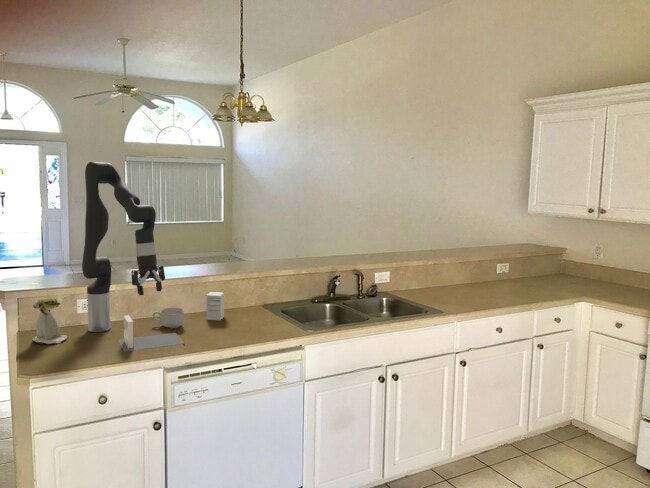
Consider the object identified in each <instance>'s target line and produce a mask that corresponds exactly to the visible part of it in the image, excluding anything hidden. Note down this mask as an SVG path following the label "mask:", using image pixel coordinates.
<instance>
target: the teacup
mask: <svg viewBox="0 0 650 488" xmlns="http://www.w3.org/2000/svg"><path fill="white" fill-rule="evenodd" d="M184 313H185V309H183V308H181V307H174V306H173V307H172V306H170V307H165V308H162V309H161V310H160V311H159V310H155V311H153V313H152V318H153V319H154V320H155V321H157V322H158V323H159V324H161V325H162V326H163V327H164V328H168V329H170V330H171V329H173V328H174V329H177V328H179V327H180V326H182V324H183V323H184V320H185V319H184V317H185V316H184V315H185V314H184ZM156 314H158V316H159V317H160V318H159V317H158V318H157V316H156Z"/></svg>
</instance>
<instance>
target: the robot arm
mask: <svg viewBox="0 0 650 488" xmlns="http://www.w3.org/2000/svg"><path fill="white" fill-rule="evenodd" d="M84 170H85V171H84V181H85V194H86V197H85V224H84V225H85V227H84V231H85V232H84V248H83V254H82V255H83V256H82V263H81V269H82V270H81V271H82V275H83V276H84V278H86V279H89V280H91V279H95V281H93V282H92V283H91V284H90V285H88V286H87V288H86V295H87V296H86V297H87V298H86V299H87V300H86V301H87V327H88V328H87V330H88V332H90V333H103V332H107V331H110V329H111V301H110V298H111V295H110V288H111V285H112V264H111V261H110V259H109V258H108V257H107V256H103V255H100V256H97V253H98V248H99V246H100V244H101V242H102V241H103V239H104V238H105V236H106V234H107V232H108V230H109V221H110V219H109V217H110V216H109V212H108V209H107V207H106V206H105V204H104V202H103V201H102V199H101V196H100V192H99V184H103V185H105V184H108V185H109V186H112V188H113V195H114V198H115V200H116V201H117V202H118V203H119V204H120V206H121V207H123V208H124V211H125V213H126V215H127V217H128V220H129V221H130V222H132V223H136V224H141V223H143V224H142V227H140V228H138V229H136V230H135V231H134V236H135V254H136V262H137V267H138V269H135V270H133V269H132V270H131V271H130V272H131V285H132V286H136V288H137V289H136V290H137V294H138V296H144V295H145V293H144V286H143V284H144V283H145V281H146V280H149V279H153V280H154V281H155V286H156V287H155V288H156V292H162V289H163V286H162V282H163V281H165V280H166V275H165V269H164V266H163V265H158V266H157V264H158V261H157V259H158V258H157V251H156V250H157V249H156V244H155V239H154V238H155V236H154V229H155V225H156V224H155V223H156V218H157V212H156V209H155V208H154V206H153V205H150V204H141V199H140V198H139V197H138V196H137V195H136V194H135V193H134V192H133V191H132V190H131V188H130V187H128V185H127V184H126V183H125V181H124V180H123V178H122V176H121V175H120V174H119V172H118V169H116V168H115V167H114V165H113V164H111V163H110V162H106V161H90V162H88V163H87V164H86V166H85V169H84Z"/></svg>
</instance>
